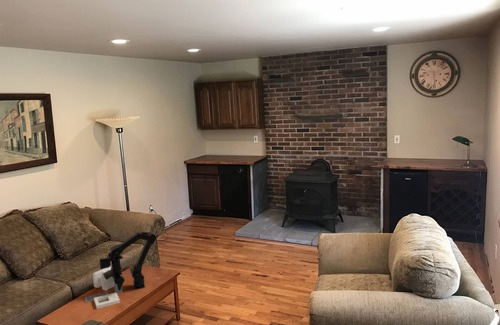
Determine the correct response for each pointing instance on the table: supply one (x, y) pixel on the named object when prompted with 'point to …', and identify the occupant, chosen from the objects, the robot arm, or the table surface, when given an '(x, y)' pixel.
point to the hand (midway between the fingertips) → (118, 287)
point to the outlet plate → (106, 300)
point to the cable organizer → (103, 279)
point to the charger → (117, 289)
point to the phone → (91, 298)
